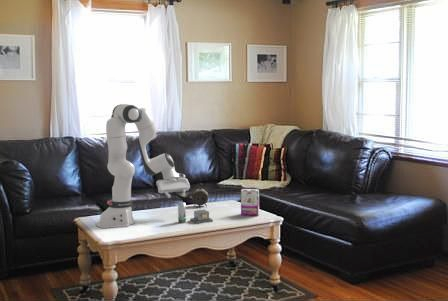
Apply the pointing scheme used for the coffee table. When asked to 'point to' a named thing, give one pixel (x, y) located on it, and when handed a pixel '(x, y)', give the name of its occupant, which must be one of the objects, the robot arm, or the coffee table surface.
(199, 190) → the alarm clock
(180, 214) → the column
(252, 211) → the candy bar box
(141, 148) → the robot arm
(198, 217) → the stand
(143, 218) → the coffee table surface
